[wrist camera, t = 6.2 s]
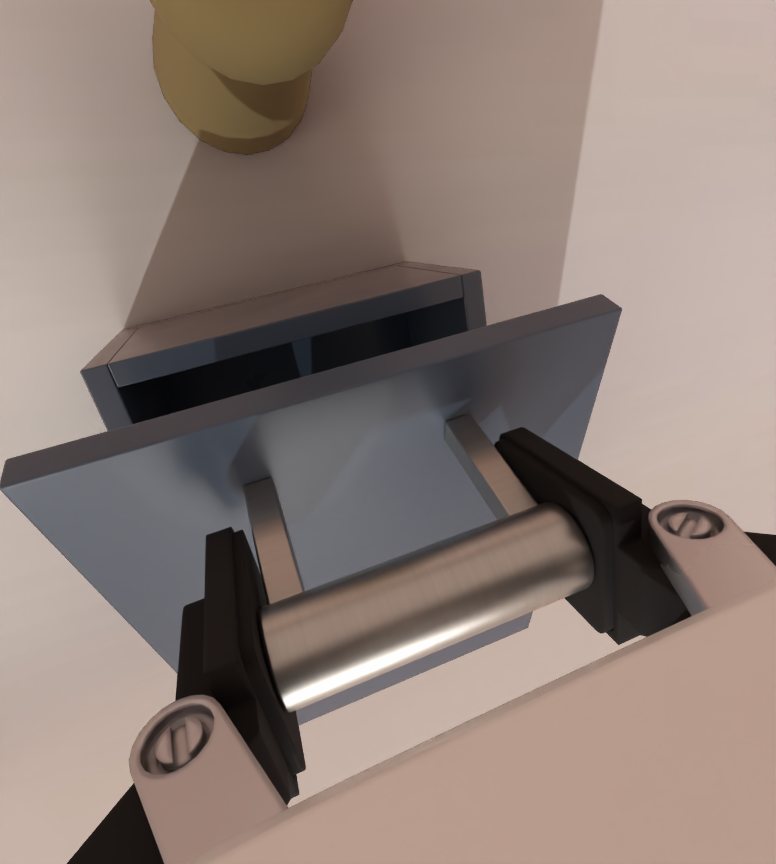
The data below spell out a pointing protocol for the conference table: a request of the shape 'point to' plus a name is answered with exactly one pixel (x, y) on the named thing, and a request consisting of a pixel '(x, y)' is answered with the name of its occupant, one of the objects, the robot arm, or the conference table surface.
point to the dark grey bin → (279, 339)
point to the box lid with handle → (344, 504)
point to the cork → (242, 65)
